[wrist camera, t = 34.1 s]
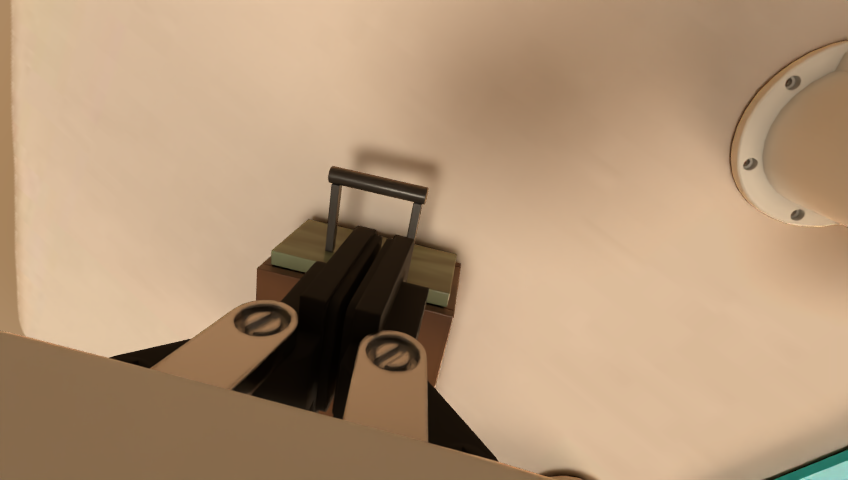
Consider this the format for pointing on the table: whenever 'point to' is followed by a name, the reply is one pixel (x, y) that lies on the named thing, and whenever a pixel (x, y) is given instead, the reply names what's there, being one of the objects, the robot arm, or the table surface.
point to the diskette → (822, 469)
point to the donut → (565, 478)
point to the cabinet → (433, 327)
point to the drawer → (425, 264)
